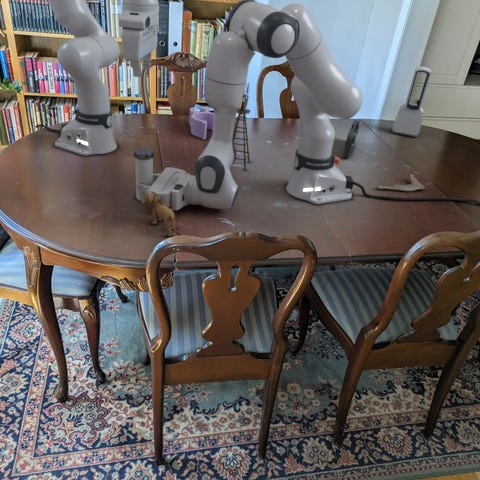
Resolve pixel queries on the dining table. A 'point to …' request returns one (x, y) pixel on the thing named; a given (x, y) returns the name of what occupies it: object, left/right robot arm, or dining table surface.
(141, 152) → the lid
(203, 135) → the clip
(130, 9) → the left robot arm
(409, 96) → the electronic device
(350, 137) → the handheld gaming console
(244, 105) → the miniature windmill
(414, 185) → the jawbone
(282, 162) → the dining table surface
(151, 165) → the jar
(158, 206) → the lion figurine
